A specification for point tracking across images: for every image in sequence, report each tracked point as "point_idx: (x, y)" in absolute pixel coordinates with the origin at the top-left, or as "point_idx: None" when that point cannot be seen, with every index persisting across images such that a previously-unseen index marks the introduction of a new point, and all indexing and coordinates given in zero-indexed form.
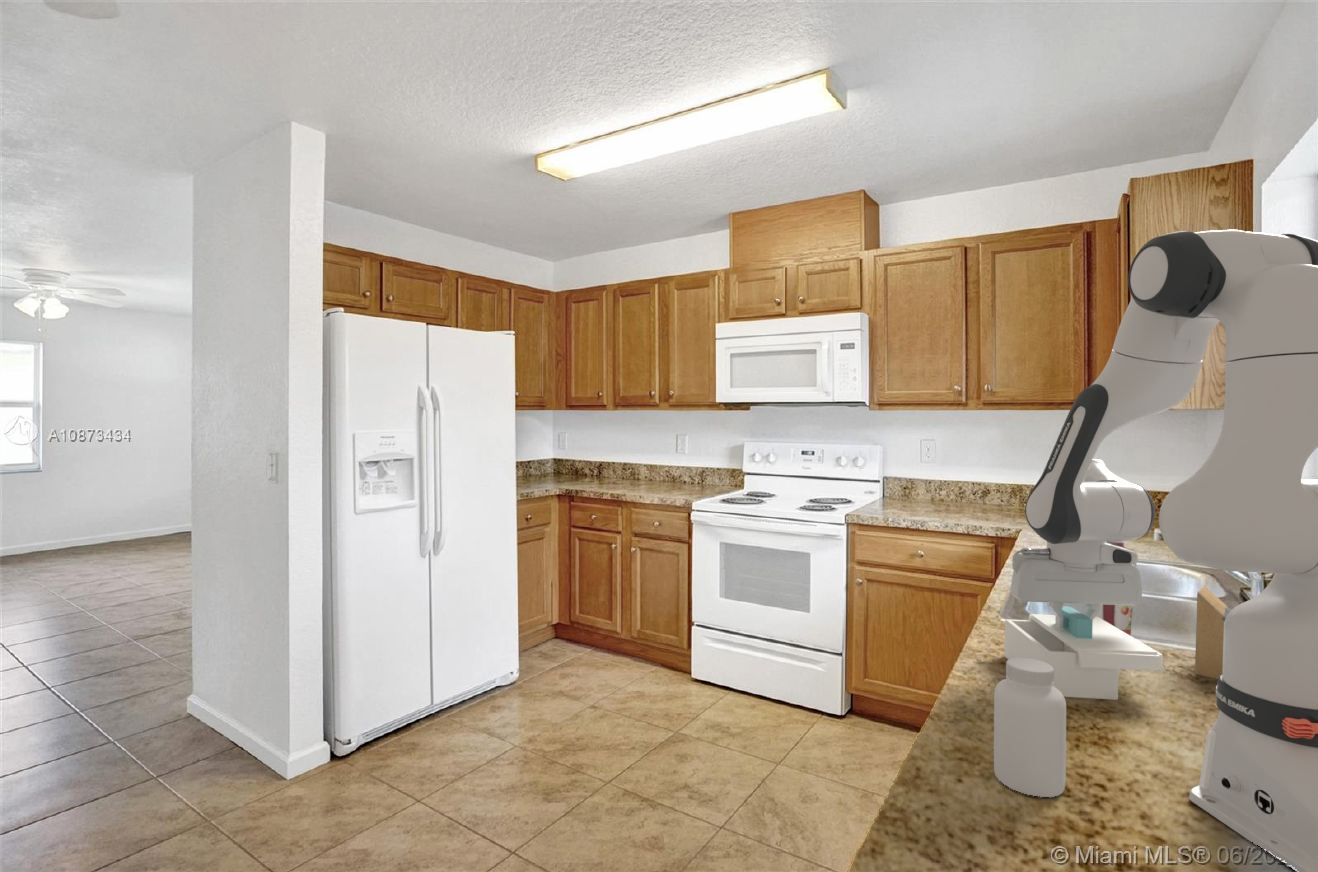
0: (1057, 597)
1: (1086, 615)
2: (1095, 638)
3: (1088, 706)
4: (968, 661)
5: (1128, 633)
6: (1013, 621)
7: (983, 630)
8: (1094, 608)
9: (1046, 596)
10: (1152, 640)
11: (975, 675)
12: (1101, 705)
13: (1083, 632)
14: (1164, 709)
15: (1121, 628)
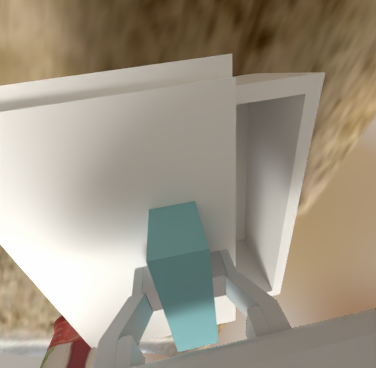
0: (313, 359)
1: (146, 313)
2: (138, 213)
3: (187, 28)
4: (311, 202)
5: (53, 340)
6: (267, 290)
7: (236, 307)
8: (119, 344)
9: (371, 350)
10: (30, 348)
11: (334, 145)
12: (156, 44)
13: (177, 216)
14: (18, 60)
15: (61, 346)
